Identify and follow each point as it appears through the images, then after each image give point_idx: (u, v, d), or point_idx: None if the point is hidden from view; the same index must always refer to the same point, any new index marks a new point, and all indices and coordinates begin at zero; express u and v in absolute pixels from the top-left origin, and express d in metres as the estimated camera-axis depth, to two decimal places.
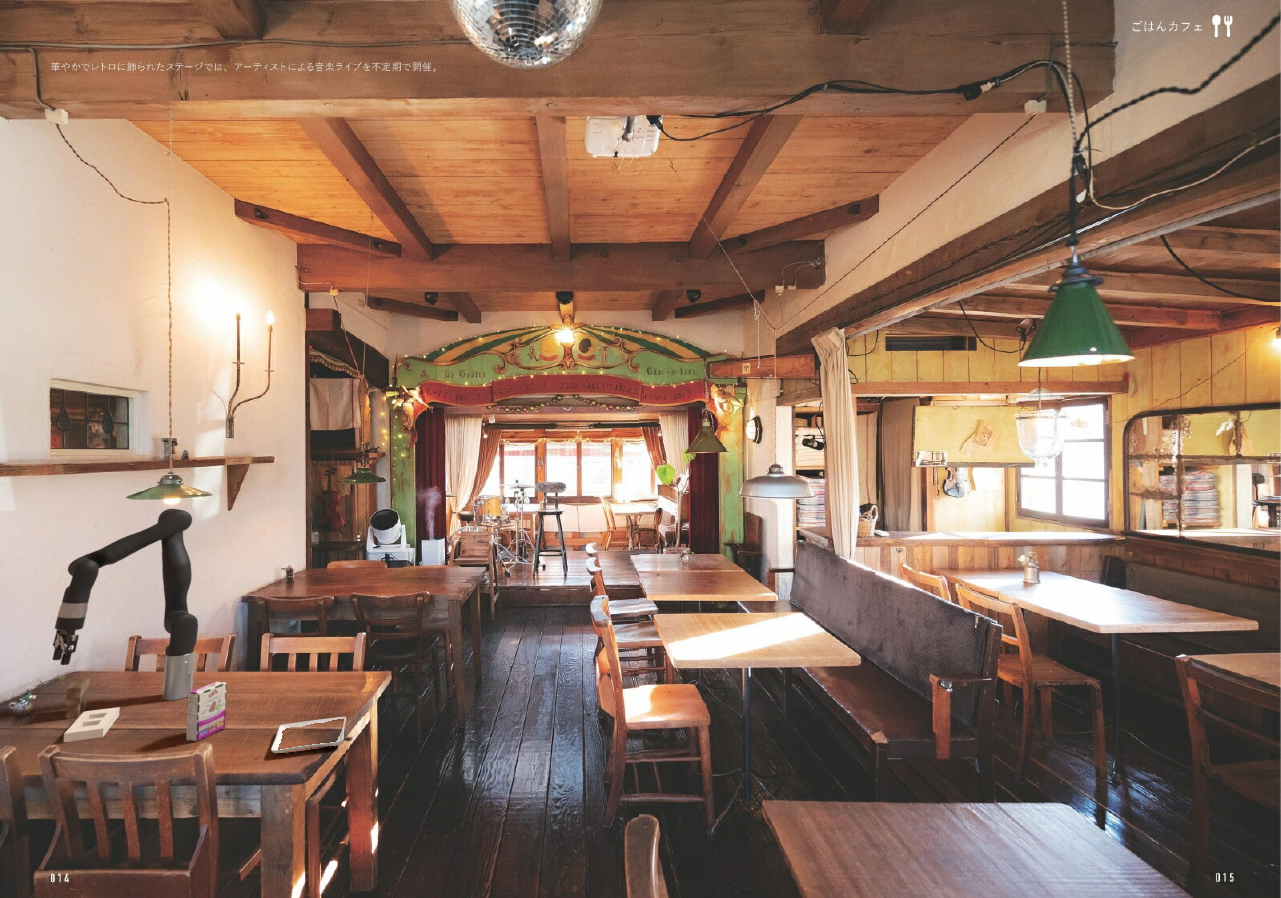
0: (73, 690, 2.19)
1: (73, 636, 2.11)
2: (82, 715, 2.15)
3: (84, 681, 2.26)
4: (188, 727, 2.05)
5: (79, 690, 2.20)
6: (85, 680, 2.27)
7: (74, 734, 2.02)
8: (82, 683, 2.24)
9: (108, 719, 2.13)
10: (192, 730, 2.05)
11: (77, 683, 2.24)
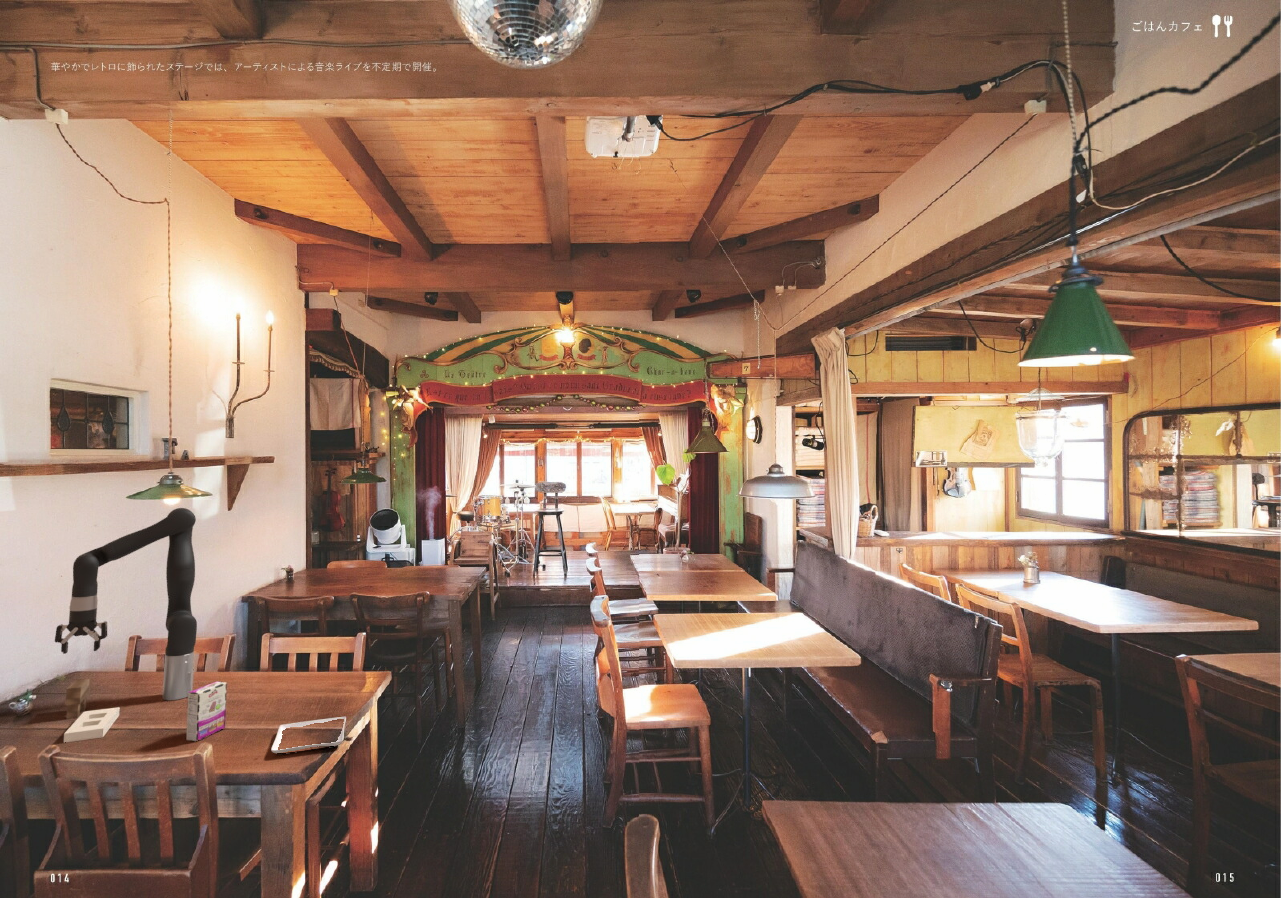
0: (73, 690, 2.19)
1: (105, 622, 2.28)
2: (82, 715, 2.15)
3: (84, 681, 2.26)
4: (188, 727, 2.05)
5: (79, 690, 2.20)
6: (85, 680, 2.27)
7: (74, 734, 2.02)
8: (82, 683, 2.24)
9: (108, 719, 2.13)
10: (192, 730, 2.05)
11: (77, 683, 2.24)
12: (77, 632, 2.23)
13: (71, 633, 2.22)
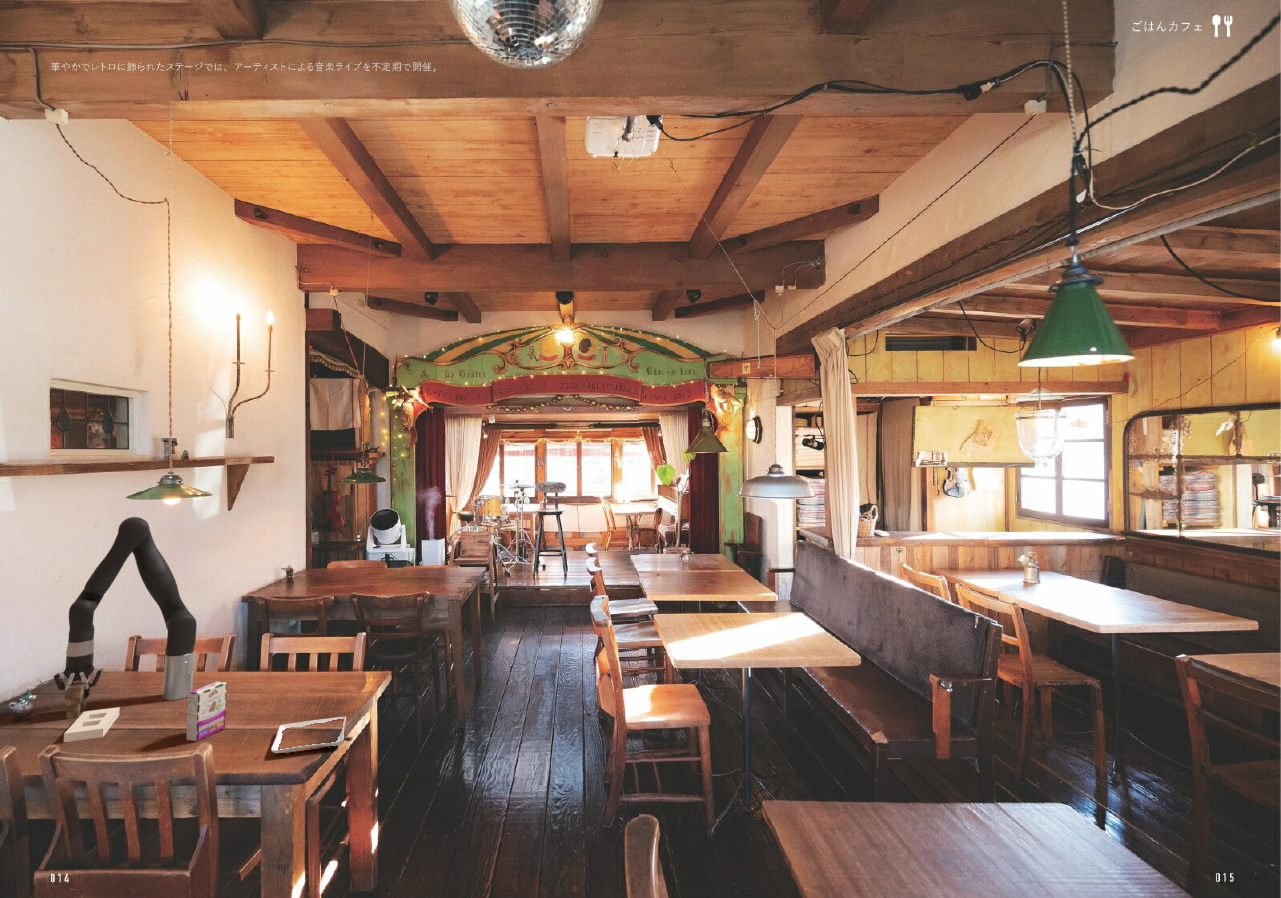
0: (73, 690, 2.19)
1: (102, 670, 2.27)
2: (82, 715, 2.15)
3: None
4: (188, 727, 2.05)
5: (79, 690, 2.20)
6: None
7: (74, 734, 2.02)
8: (82, 683, 2.24)
9: (108, 719, 2.13)
10: (192, 730, 2.05)
11: (77, 683, 2.24)
12: (76, 676, 2.23)
13: (70, 679, 2.22)
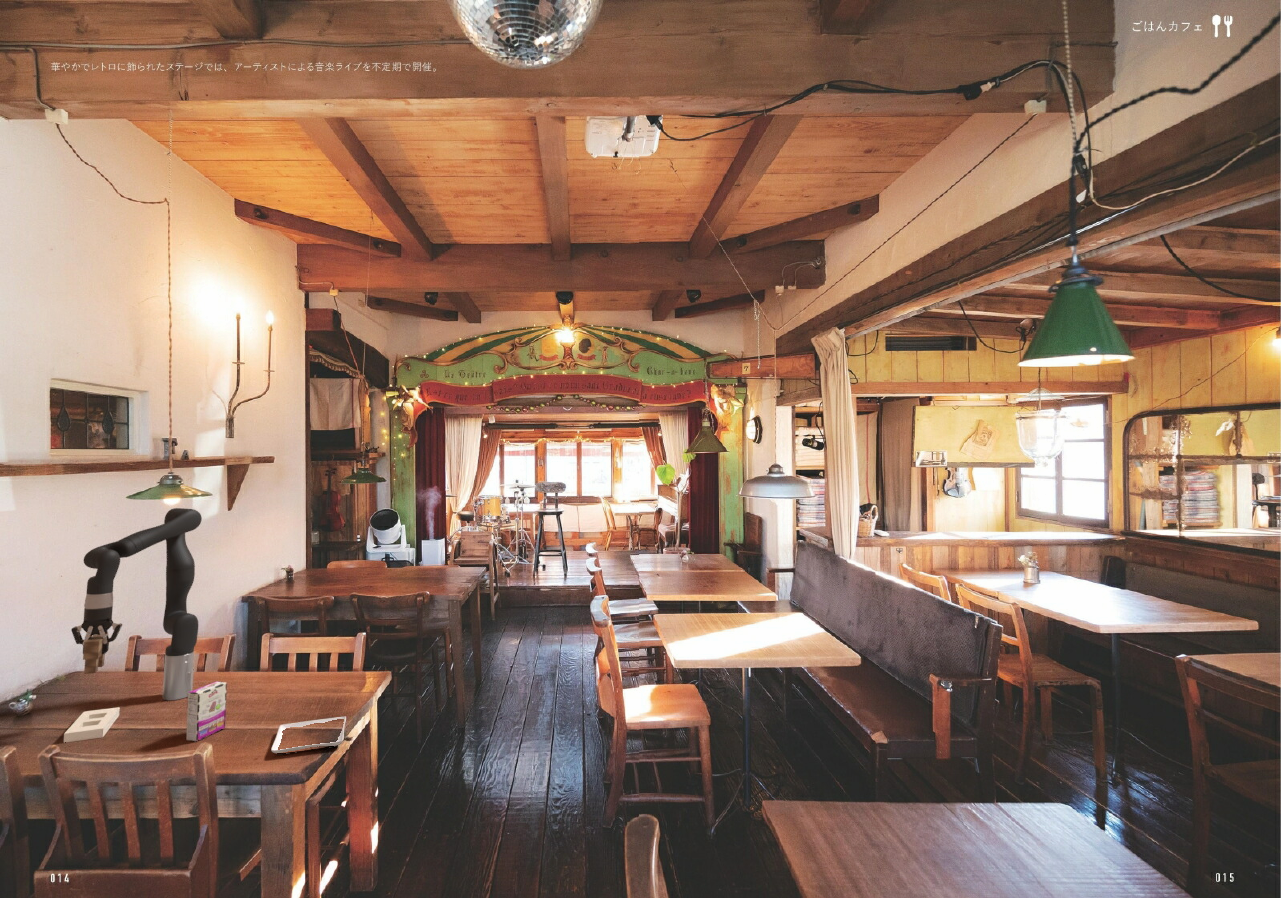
0: (91, 644, 2.09)
1: (121, 625, 2.17)
2: (82, 715, 2.15)
3: None
4: (188, 727, 2.05)
5: (97, 644, 2.10)
6: None
7: (74, 734, 2.02)
8: (100, 637, 2.14)
9: (108, 719, 2.13)
10: (192, 730, 2.05)
11: (95, 637, 2.14)
12: (94, 630, 2.13)
13: (88, 633, 2.12)
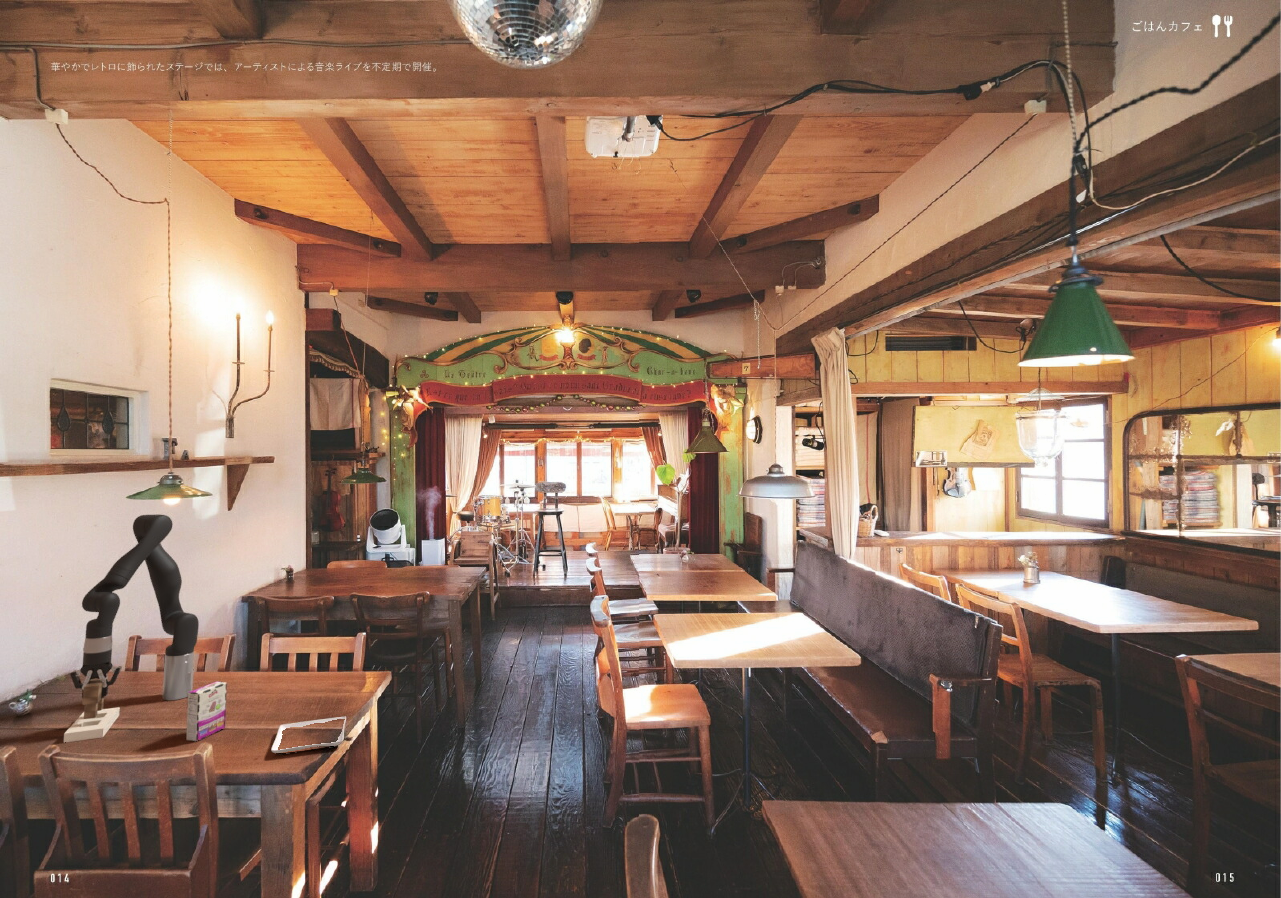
0: (90, 688, 2.08)
1: (120, 668, 2.16)
2: (82, 715, 2.15)
3: None
4: (188, 727, 2.05)
5: (97, 689, 2.09)
6: None
7: (74, 734, 2.02)
8: (100, 681, 2.13)
9: (108, 719, 2.13)
10: (192, 730, 2.05)
11: (95, 681, 2.13)
12: (93, 674, 2.11)
13: (87, 677, 2.10)
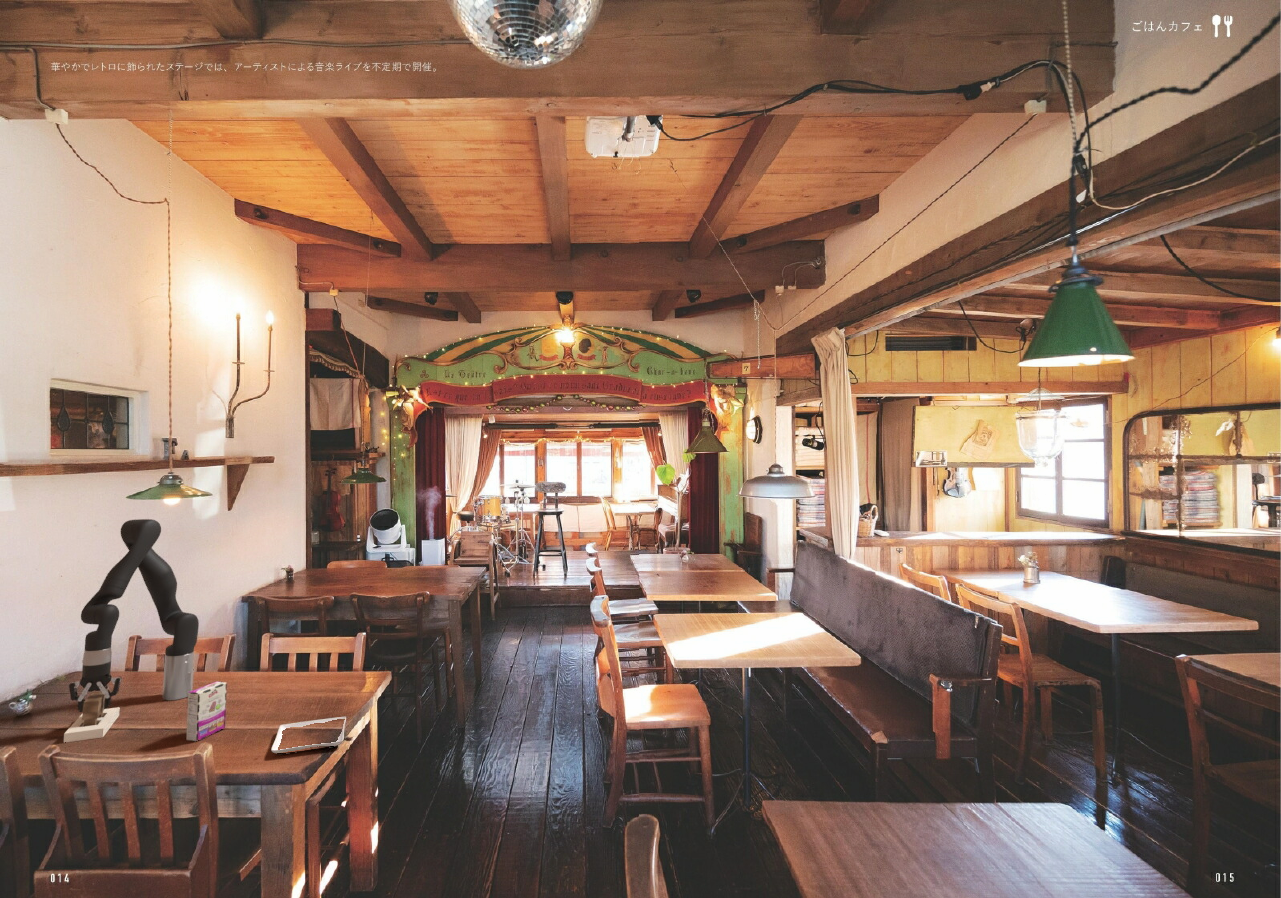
0: (90, 703, 2.08)
1: (120, 678, 2.16)
2: None
3: (101, 694, 2.15)
4: (188, 727, 2.05)
5: (97, 704, 2.09)
6: (102, 693, 2.16)
7: (74, 734, 2.02)
8: (100, 696, 2.13)
9: (108, 719, 2.13)
10: (192, 730, 2.05)
11: (95, 696, 2.13)
12: (92, 687, 2.11)
13: (85, 689, 2.10)
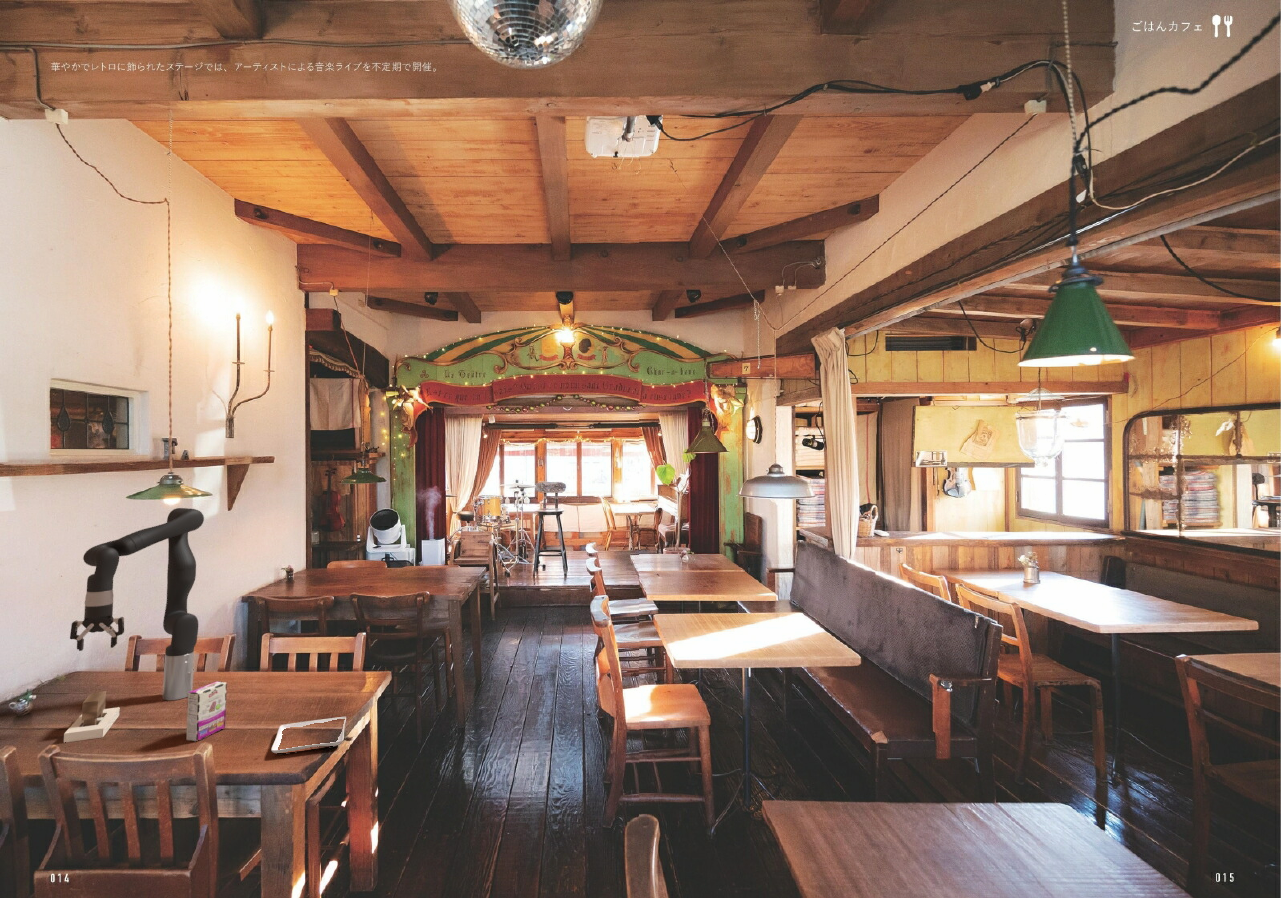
0: (89, 704, 2.08)
1: (122, 618, 2.19)
2: None
3: (101, 694, 2.15)
4: (188, 727, 2.05)
5: (96, 704, 2.09)
6: (101, 693, 2.16)
7: (74, 734, 2.02)
8: (99, 696, 2.13)
9: (108, 719, 2.13)
10: (192, 730, 2.05)
11: (94, 696, 2.13)
12: (93, 628, 2.14)
13: (87, 629, 2.13)
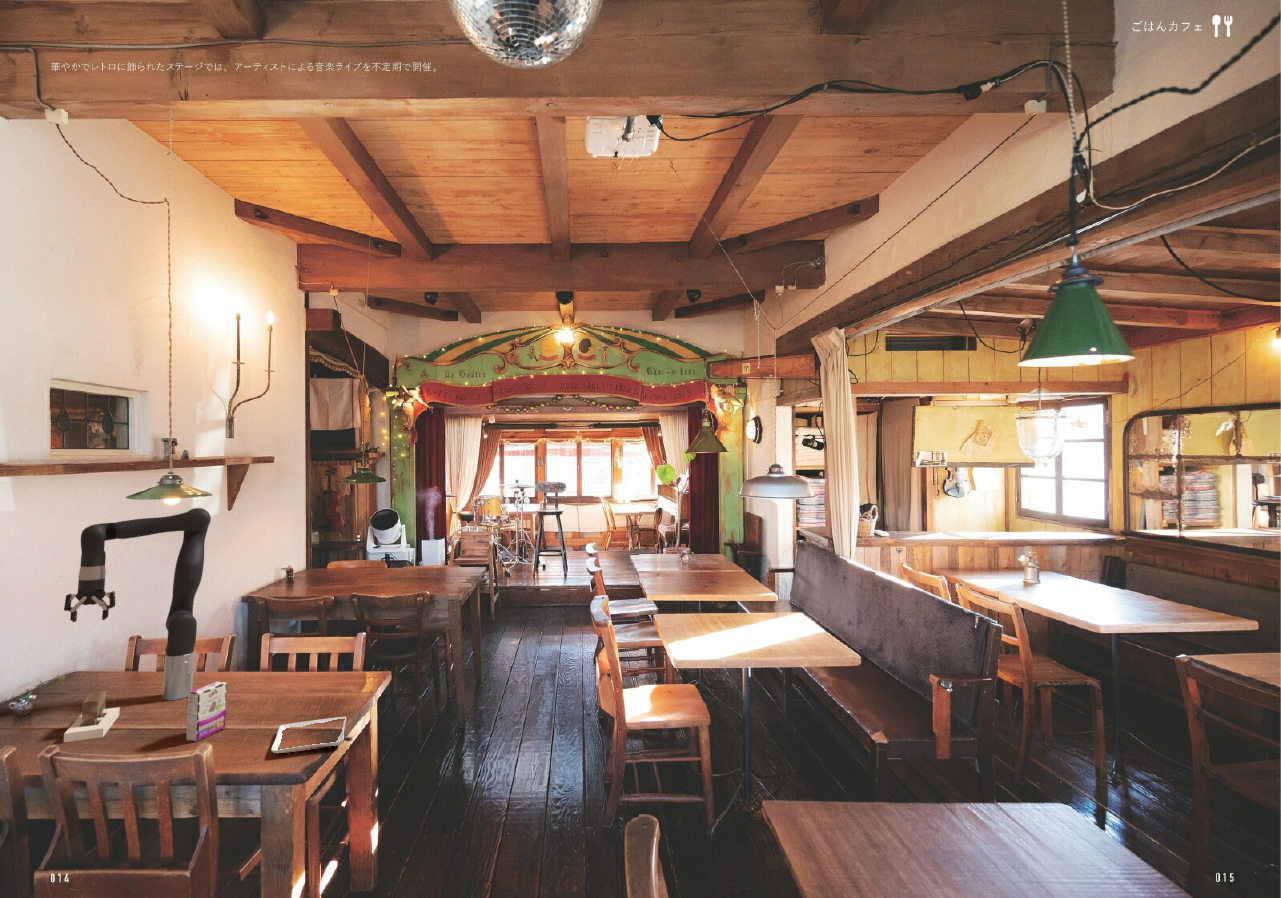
0: (89, 704, 2.08)
1: (113, 592, 2.32)
2: None
3: (101, 694, 2.15)
4: (188, 727, 2.05)
5: (96, 704, 2.09)
6: (101, 693, 2.16)
7: (74, 734, 2.02)
8: (99, 696, 2.13)
9: (108, 719, 2.13)
10: (192, 730, 2.05)
11: (94, 696, 2.13)
12: (86, 601, 2.27)
13: (80, 602, 2.26)
